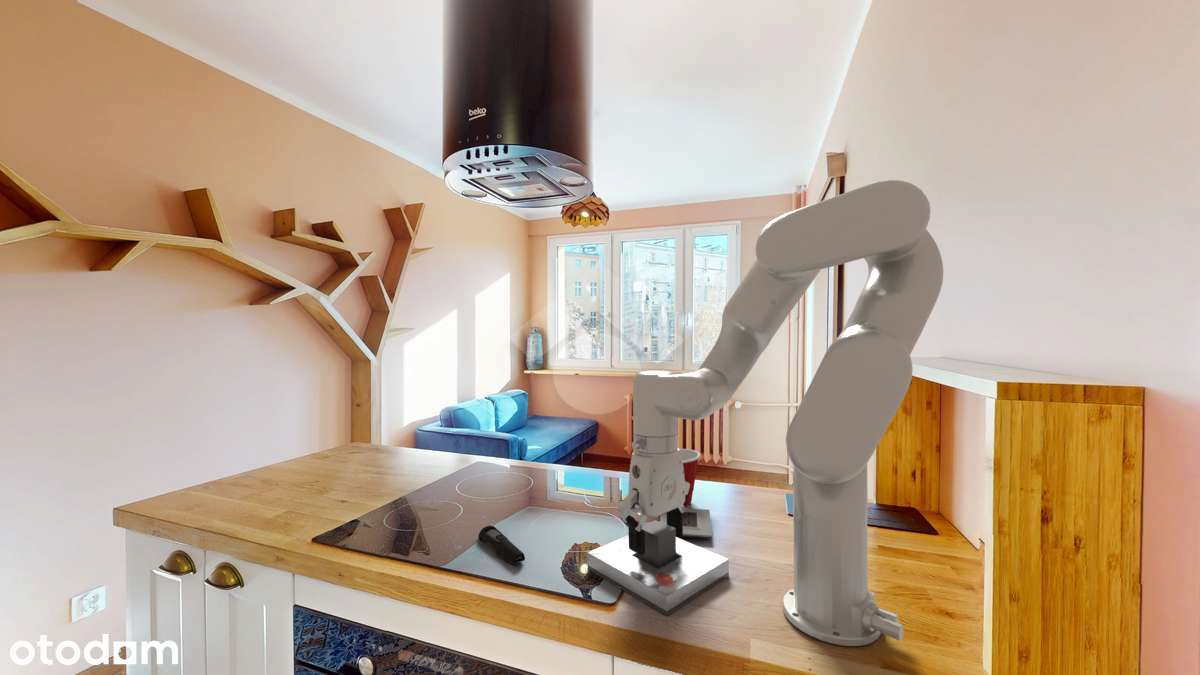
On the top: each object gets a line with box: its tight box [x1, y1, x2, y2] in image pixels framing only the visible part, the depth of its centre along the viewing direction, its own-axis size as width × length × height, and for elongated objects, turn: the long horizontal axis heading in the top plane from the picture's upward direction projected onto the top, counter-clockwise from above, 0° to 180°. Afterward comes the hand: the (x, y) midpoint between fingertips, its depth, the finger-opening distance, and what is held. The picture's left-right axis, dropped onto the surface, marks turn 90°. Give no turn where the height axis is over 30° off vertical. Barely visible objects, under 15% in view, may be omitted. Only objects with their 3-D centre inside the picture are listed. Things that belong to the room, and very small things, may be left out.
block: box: [638, 519, 676, 569], centre depth 78 cm, size 5×5×7 cm
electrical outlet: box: [659, 507, 713, 540], centre depth 96 cm, size 13×10×2 cm
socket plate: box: [587, 534, 730, 617], centre depth 78 cm, size 18×16×4 cm
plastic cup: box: [679, 448, 701, 508], centre depth 110 cm, size 11×11×12 cm
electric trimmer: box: [478, 525, 526, 565], centre depth 87 cm, size 4×16×3 cm, turn 37°
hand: (656, 542), depth 78 cm, fingers open, 9 cm apart
